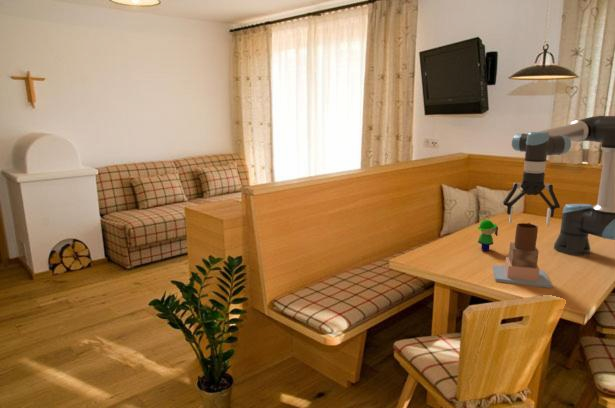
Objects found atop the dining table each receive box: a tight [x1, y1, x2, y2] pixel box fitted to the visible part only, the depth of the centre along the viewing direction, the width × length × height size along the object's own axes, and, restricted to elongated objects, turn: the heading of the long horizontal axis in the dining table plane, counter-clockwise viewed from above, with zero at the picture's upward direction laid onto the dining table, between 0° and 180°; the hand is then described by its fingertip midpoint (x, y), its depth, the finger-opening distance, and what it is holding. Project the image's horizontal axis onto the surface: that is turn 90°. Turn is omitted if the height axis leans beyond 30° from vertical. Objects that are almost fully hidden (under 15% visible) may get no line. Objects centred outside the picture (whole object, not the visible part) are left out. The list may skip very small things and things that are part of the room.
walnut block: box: [508, 242, 540, 268], centre depth 174 cm, size 9×9×7 cm
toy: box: [477, 219, 499, 253], centre depth 208 cm, size 9×9×15 cm
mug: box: [514, 222, 539, 251], centre depth 172 cm, size 12×8×9 cm, turn 148°
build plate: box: [492, 256, 553, 289], centre depth 175 cm, size 20×16×6 cm
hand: (528, 223), depth 173 cm, fingers open, 13 cm apart
